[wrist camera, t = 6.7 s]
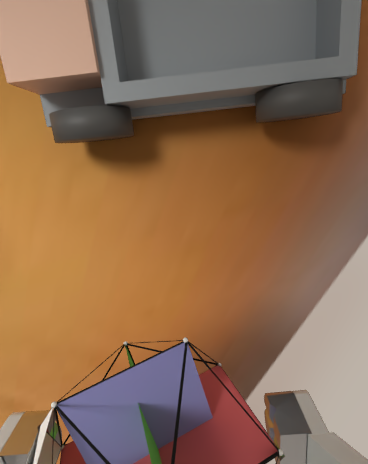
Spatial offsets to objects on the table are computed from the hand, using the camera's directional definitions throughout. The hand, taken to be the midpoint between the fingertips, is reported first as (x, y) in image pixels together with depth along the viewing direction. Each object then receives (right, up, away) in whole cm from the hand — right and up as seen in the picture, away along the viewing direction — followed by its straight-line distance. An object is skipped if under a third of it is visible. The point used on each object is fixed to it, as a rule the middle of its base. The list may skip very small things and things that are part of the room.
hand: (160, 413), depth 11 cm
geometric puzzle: (0, +1, +2) cm, 2 cm away
